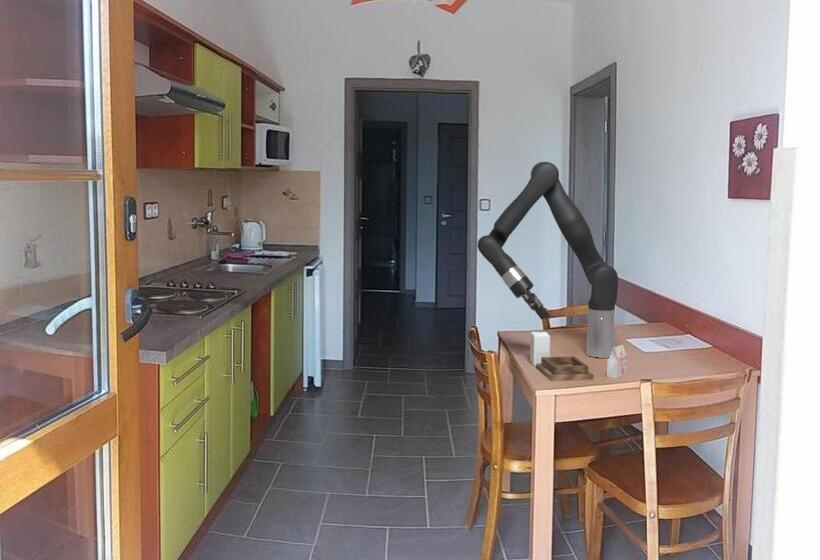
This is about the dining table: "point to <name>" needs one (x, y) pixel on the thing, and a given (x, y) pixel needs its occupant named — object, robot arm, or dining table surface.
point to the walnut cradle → (564, 368)
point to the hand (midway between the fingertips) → (546, 317)
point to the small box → (539, 347)
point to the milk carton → (617, 362)
